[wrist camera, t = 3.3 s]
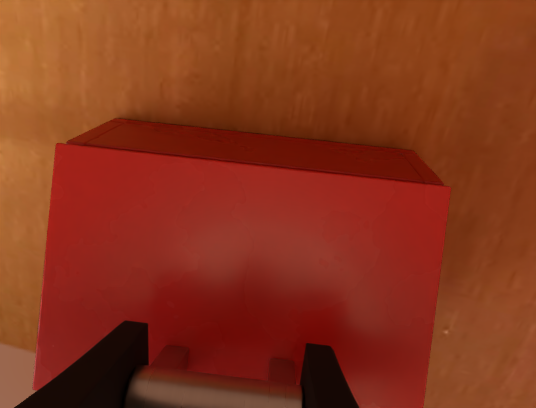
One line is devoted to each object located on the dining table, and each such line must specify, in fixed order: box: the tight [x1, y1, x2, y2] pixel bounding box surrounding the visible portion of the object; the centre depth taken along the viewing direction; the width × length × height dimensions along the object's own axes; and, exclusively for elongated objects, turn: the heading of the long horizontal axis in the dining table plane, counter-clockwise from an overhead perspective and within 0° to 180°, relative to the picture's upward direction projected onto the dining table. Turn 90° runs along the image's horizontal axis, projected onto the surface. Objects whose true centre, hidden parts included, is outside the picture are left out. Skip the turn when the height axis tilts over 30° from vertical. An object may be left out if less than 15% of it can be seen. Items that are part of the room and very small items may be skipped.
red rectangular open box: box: [66, 118, 444, 186], centre depth 15 cm, size 7×11×4 cm, turn 85°
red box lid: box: [32, 143, 451, 408], centre depth 11 cm, size 7×11×3 cm, turn 84°
